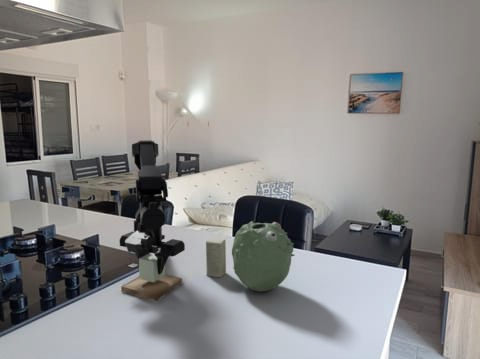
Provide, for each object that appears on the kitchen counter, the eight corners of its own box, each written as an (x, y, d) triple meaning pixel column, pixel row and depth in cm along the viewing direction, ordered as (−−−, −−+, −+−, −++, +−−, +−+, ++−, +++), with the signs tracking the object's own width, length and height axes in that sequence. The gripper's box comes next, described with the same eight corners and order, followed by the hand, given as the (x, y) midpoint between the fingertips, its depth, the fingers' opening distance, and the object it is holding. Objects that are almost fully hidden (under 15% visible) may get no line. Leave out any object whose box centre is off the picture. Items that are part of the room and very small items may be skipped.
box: (226, 272, 114) (226, 239, 112) (221, 278, 110) (221, 243, 108) (211, 270, 116) (211, 237, 114) (205, 275, 112) (205, 241, 110)
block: (139, 278, 102) (139, 258, 101) (150, 272, 106) (150, 252, 105) (153, 282, 100) (153, 261, 99) (164, 275, 104) (164, 255, 103)
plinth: (121, 291, 100) (121, 286, 100) (149, 275, 111) (149, 270, 111) (156, 300, 95) (156, 295, 95) (181, 282, 106) (181, 277, 106)
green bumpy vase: (245, 271, 115) (246, 210, 112) (301, 286, 105) (304, 220, 102) (217, 291, 102) (218, 222, 98) (278, 309, 92) (281, 234, 89)
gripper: (103, 221, 97) (106, 276, 99) (160, 231, 89) (161, 291, 92) (132, 212, 107) (133, 262, 109) (185, 220, 99) (185, 274, 102)
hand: (152, 272), depth 103 cm, fingers closed on block, 5 cm apart
